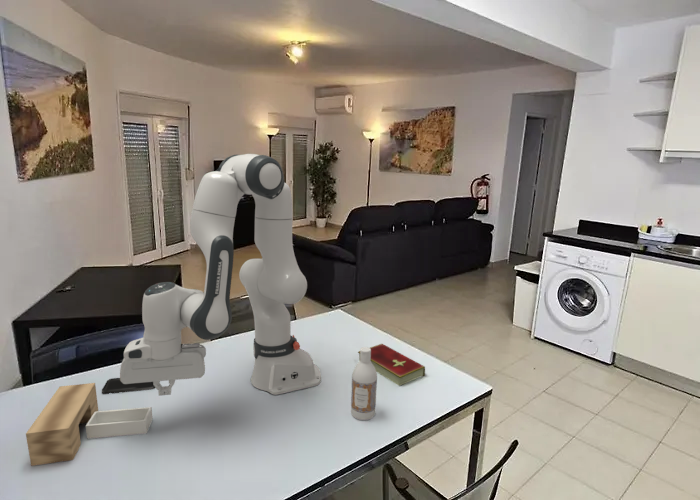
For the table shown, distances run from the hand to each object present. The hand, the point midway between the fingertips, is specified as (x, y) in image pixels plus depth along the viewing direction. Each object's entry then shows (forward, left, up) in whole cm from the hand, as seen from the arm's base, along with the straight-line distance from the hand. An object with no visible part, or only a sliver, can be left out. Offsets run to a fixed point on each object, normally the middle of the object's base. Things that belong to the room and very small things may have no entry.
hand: (165, 394), depth 111 cm
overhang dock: (+24, 0, -9) cm, 25 cm away
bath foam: (-53, +8, -9) cm, 54 cm away
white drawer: (+11, 0, -9) cm, 15 cm away
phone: (+13, -22, -9) cm, 28 cm away
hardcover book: (-70, -15, -10) cm, 72 cm away
